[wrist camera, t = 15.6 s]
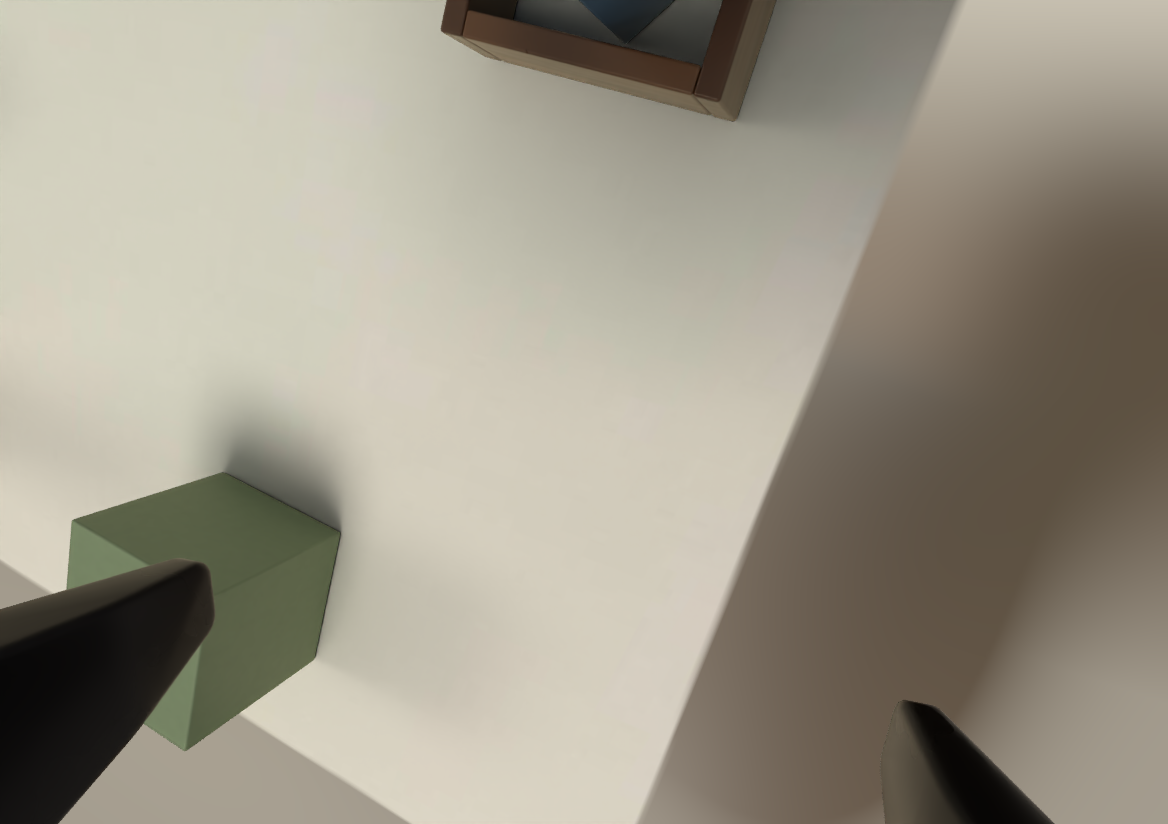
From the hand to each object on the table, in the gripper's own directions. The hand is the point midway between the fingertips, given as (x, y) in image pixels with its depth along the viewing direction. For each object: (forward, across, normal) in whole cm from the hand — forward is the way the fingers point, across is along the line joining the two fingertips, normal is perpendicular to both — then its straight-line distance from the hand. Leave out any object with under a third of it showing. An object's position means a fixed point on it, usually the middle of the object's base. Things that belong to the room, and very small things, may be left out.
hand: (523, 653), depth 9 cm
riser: (+15, +14, +10) cm, 23 cm away
